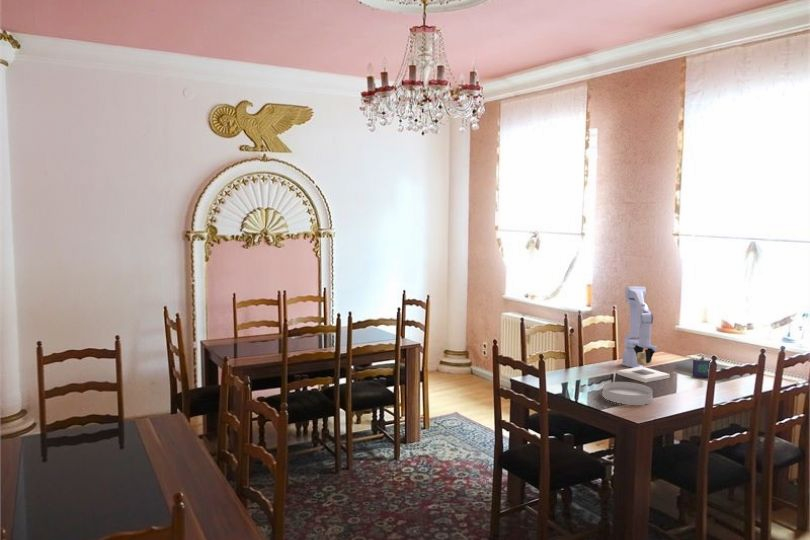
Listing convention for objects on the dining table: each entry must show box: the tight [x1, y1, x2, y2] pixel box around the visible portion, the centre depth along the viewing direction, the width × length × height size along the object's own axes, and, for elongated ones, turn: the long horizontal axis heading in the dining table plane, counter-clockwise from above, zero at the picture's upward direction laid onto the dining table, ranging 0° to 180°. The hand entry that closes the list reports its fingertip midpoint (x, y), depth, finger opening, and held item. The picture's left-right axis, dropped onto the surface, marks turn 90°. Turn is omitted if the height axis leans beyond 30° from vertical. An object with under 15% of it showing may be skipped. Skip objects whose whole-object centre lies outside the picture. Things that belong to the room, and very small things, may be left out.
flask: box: [692, 356, 712, 378], centre depth 332 cm, size 9×3×11 cm, turn 88°
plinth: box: [617, 366, 671, 384], centre depth 333 cm, size 18×18×2 cm
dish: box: [601, 381, 654, 406], centre depth 295 cm, size 22×22×5 cm
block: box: [637, 351, 653, 367], centre depth 332 cm, size 5×5×6 cm
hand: (643, 361), depth 332 cm, fingers closed on block, 5 cm apart
